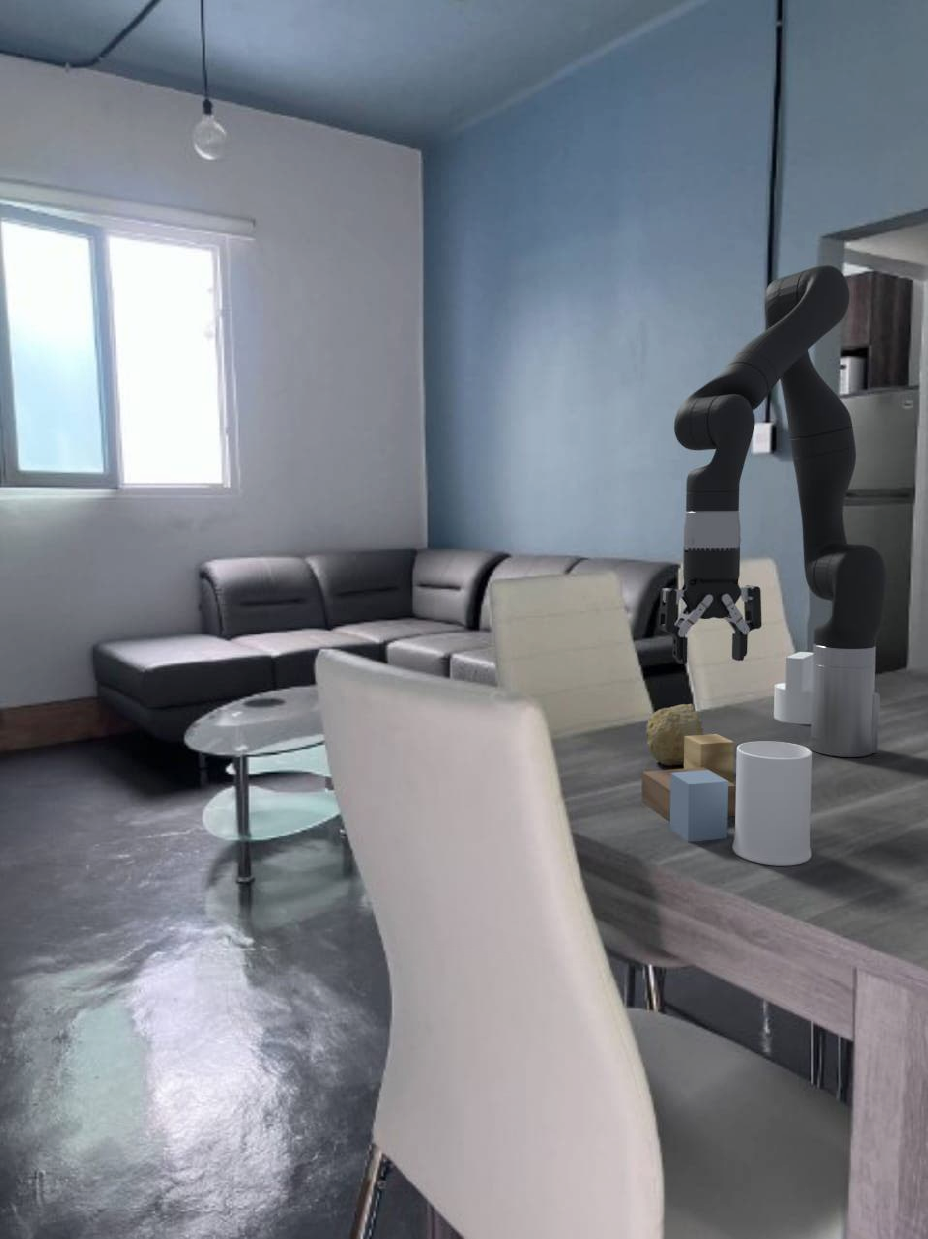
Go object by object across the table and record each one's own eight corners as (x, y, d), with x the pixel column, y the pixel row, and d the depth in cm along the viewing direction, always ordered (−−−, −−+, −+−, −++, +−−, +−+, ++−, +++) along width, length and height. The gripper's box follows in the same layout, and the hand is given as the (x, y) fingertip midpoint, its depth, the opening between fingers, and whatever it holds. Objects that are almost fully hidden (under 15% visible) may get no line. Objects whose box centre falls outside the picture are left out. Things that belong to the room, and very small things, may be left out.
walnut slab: (703, 795, 127) (703, 767, 127) (735, 816, 118) (736, 785, 118) (641, 800, 125) (641, 771, 125) (670, 821, 116) (670, 790, 116)
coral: (730, 726, 138) (669, 701, 137) (700, 786, 140) (640, 760, 139) (714, 708, 147) (657, 684, 147) (686, 764, 149) (630, 740, 148)
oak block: (715, 781, 134) (716, 733, 133) (732, 791, 129) (733, 742, 128) (683, 783, 133) (684, 736, 132) (699, 793, 128) (700, 744, 127)
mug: (732, 827, 114) (734, 732, 113) (806, 833, 112) (809, 736, 110) (732, 862, 103) (734, 756, 101) (814, 869, 100) (817, 761, 99)
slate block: (707, 824, 115) (708, 769, 114) (726, 838, 110) (728, 781, 110) (669, 828, 114) (670, 772, 113) (688, 842, 109) (688, 784, 109)
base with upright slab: (782, 711, 180) (784, 650, 179) (830, 717, 175) (832, 654, 173) (767, 720, 173) (769, 656, 171) (817, 726, 167) (819, 660, 166)
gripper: (745, 543, 132) (742, 655, 134) (652, 545, 129) (650, 660, 131) (773, 544, 125) (770, 663, 127) (675, 546, 122) (673, 668, 124)
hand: (709, 661), depth 129 cm, fingers open, 8 cm apart
